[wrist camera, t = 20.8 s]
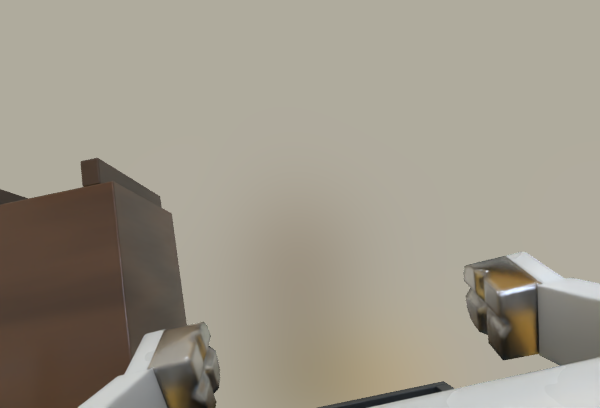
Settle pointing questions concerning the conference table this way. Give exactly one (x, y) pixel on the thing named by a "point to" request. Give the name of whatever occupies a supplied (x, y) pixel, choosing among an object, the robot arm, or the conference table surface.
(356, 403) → the waste bin
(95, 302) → the bottle stand
